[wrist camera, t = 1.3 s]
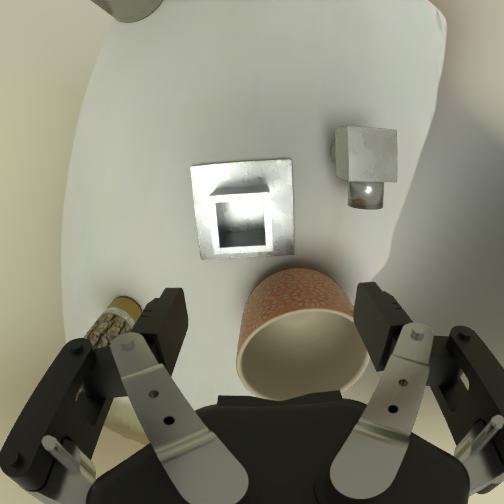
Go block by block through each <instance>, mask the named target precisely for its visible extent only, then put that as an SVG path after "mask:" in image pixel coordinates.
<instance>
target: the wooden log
mask: <svg viewBox="0 0 504 504" xmlns="http://www.w3.org/2000/svg"><path fill="white" fill-rule="evenodd" d="M141 313H142V311H141V309H140V307H139V306H138V305H137V304H136V303H135V302H134V301H132V300H131V299H128V298H124V297H119V298H116V299H115V300H113V301H112V303H111V304H110V305H109V306H108V308H107V309H106V310H105V311H104V312H103V314H102V315H101V316H100V317H99V319H98V320H97V321H96V322H95V324H94V325H93V326H92V327H91V329H90V330H89V331H88V332H87V334H86V335H85V336H84V338H86V339H88V340H90V341H91V343H92V345H93V348H102V347H109V346H110V344H111V342H112V341H113V339H114V338H116V337H117V336H119V335H121V334H124V333H129V332H130V331H131V329H132V328H133V326H134V325H135V323H136V321H137V320H138V318H139V317H140V315H141ZM81 390H82V389H81V388H80V389H79V391H78V393H77V396H76V400H77V398H78V396H79V394H80V392H81Z"/></svg>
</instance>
